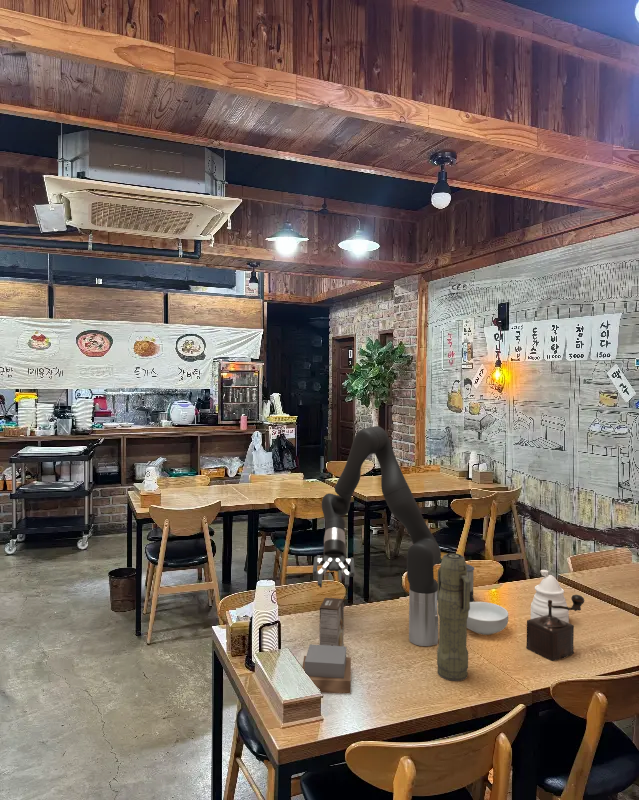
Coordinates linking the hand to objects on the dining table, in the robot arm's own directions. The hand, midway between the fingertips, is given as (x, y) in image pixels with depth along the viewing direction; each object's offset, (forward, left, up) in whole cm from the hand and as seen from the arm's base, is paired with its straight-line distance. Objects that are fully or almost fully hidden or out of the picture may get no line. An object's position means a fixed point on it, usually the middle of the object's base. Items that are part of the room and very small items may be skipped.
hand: (333, 586), depth 195 cm
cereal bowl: (-52, -9, -17) cm, 56 cm away
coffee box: (0, +12, -17) cm, 21 cm away
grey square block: (+1, +29, -14) cm, 32 cm away
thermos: (-36, +23, -17) cm, 46 cm away
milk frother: (-46, -35, -17) cm, 60 cm away
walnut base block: (+1, +29, -18) cm, 34 cm away
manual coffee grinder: (-72, +5, -17) cm, 74 cm away
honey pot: (-78, -19, -17) cm, 82 cm away
